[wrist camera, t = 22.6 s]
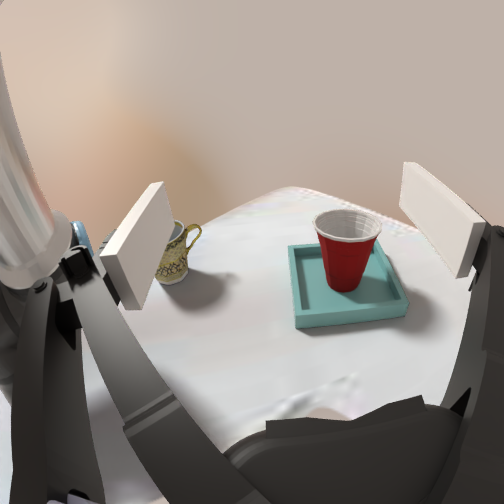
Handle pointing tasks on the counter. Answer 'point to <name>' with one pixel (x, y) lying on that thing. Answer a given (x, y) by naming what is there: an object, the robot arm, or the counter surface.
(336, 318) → the tray
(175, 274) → the ceramic cup
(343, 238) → the plastic cup
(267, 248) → the counter surface
